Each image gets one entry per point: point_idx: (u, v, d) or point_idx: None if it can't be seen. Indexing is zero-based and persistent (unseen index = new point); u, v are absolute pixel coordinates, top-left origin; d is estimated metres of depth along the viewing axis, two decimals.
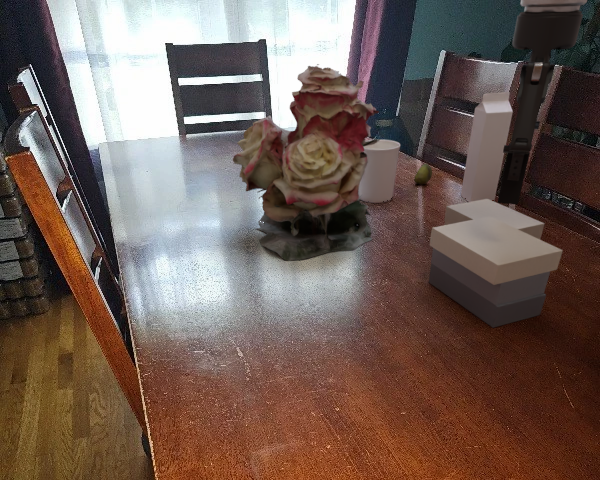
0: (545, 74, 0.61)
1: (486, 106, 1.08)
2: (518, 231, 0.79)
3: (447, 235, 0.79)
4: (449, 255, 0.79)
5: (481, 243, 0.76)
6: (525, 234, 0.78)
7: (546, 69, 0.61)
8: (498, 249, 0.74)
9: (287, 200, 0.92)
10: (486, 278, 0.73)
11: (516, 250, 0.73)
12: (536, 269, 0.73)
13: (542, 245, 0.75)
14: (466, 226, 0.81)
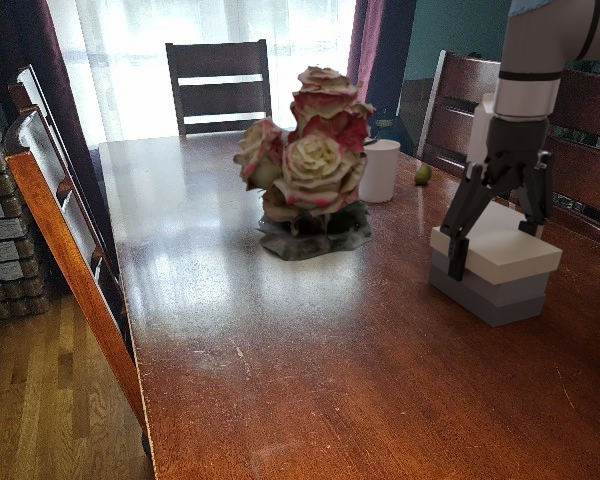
0: (473, 175, 0.68)
1: (486, 106, 1.08)
2: (518, 231, 0.79)
3: None
4: None
5: (481, 243, 0.76)
6: (525, 234, 0.78)
7: (474, 171, 0.68)
8: (498, 249, 0.74)
9: (287, 200, 0.92)
10: (486, 278, 0.73)
11: (516, 250, 0.73)
12: (536, 269, 0.73)
13: (542, 245, 0.75)
14: None
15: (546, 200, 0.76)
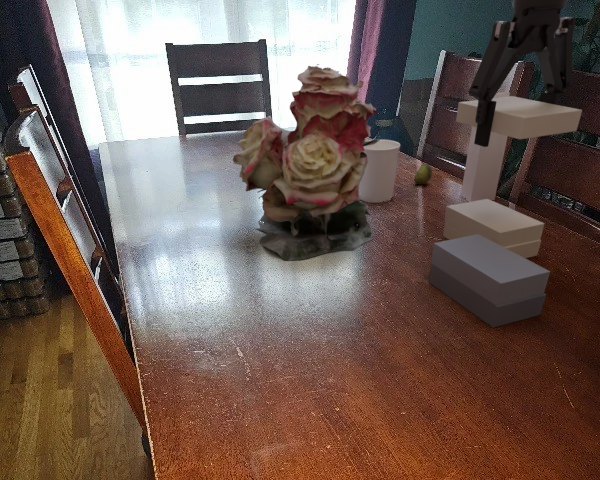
0: (502, 32, 0.74)
1: None
2: (539, 102, 0.85)
3: (474, 105, 0.85)
4: (475, 124, 0.85)
5: (506, 108, 0.82)
6: (546, 103, 0.84)
7: (502, 27, 0.74)
8: (523, 110, 0.80)
9: (287, 200, 0.92)
10: (512, 135, 0.79)
11: (539, 111, 0.80)
12: (558, 127, 0.80)
13: (563, 108, 0.81)
14: None
15: (566, 68, 0.82)
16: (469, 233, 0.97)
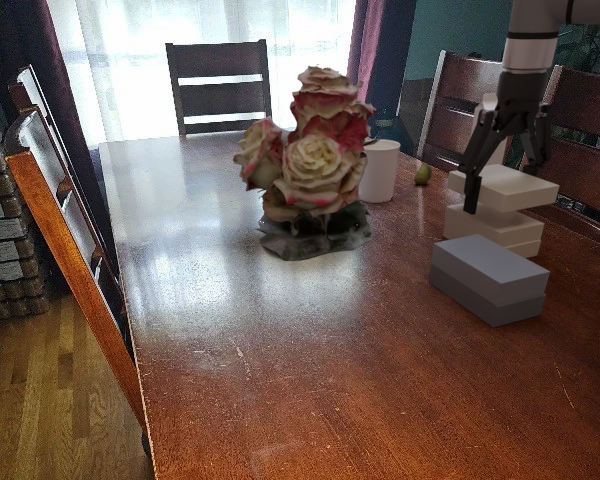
0: (486, 120, 0.83)
1: (486, 106, 1.08)
2: (522, 173, 0.94)
3: (462, 176, 0.94)
4: None
5: (492, 181, 0.91)
6: (528, 175, 0.93)
7: (487, 116, 0.83)
8: (506, 185, 0.89)
9: (287, 200, 0.92)
10: (496, 208, 0.88)
11: (520, 185, 0.88)
12: (537, 201, 0.88)
13: (542, 182, 0.90)
14: None
15: (546, 145, 0.91)
16: (469, 233, 0.97)
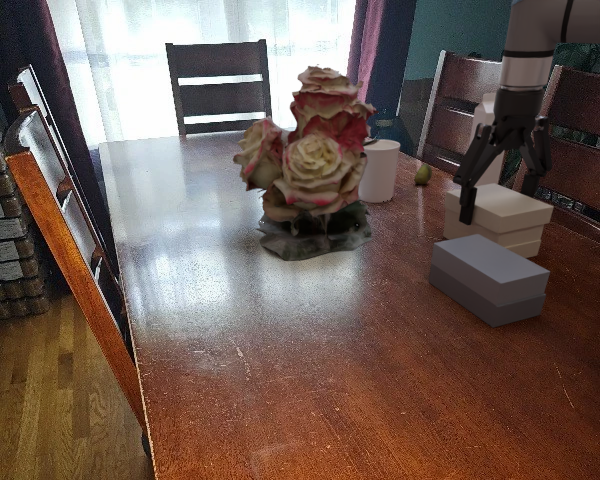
0: (483, 133, 0.84)
1: (486, 106, 1.08)
2: (517, 193, 0.96)
3: (459, 196, 0.96)
4: None
5: (488, 201, 0.93)
6: (523, 195, 0.95)
7: (484, 130, 0.84)
8: (501, 206, 0.91)
9: (287, 200, 0.92)
10: (492, 229, 0.90)
11: (516, 207, 0.91)
12: (532, 222, 0.91)
13: (537, 203, 0.92)
14: None
15: (545, 156, 0.92)
16: (469, 233, 0.97)
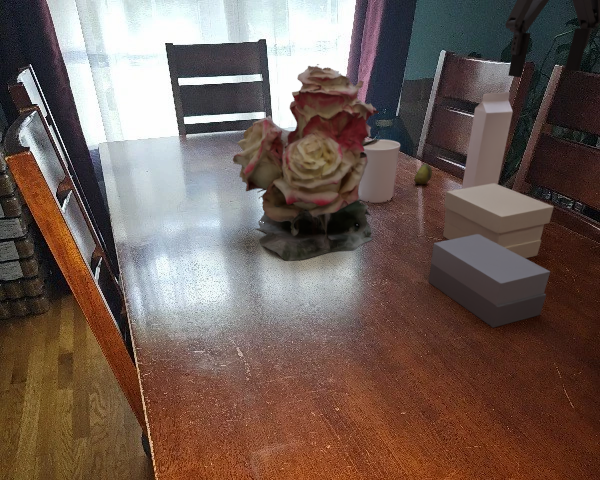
0: None
1: (486, 106, 1.08)
2: (517, 193, 0.96)
3: (459, 196, 0.96)
4: (461, 213, 0.96)
5: (488, 201, 0.93)
6: (523, 195, 0.95)
7: None
8: (501, 206, 0.91)
9: (287, 200, 0.92)
10: (492, 229, 0.90)
11: (516, 207, 0.91)
12: (532, 222, 0.91)
13: (537, 203, 0.92)
14: (475, 190, 0.99)
15: (598, 4, 0.91)
16: (469, 233, 0.97)
